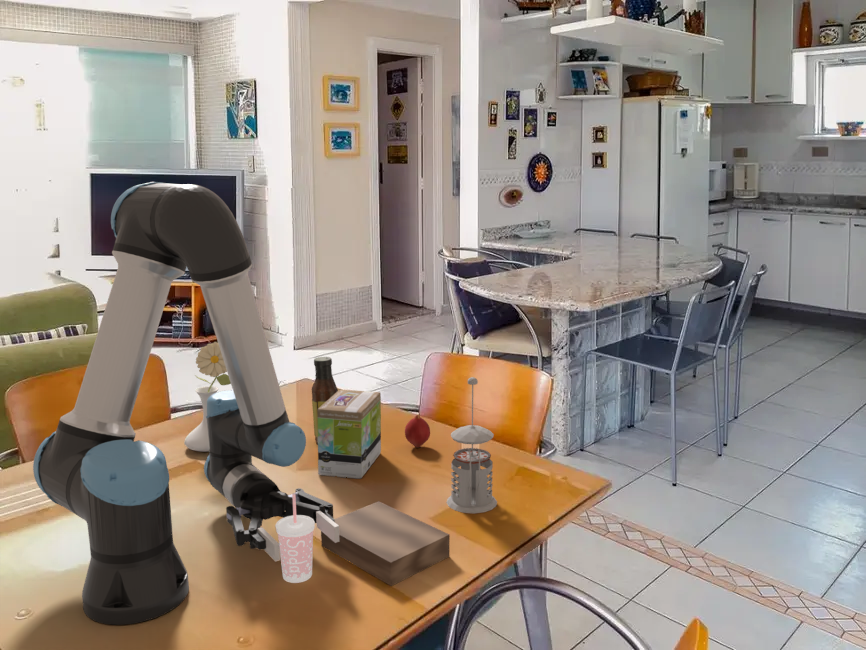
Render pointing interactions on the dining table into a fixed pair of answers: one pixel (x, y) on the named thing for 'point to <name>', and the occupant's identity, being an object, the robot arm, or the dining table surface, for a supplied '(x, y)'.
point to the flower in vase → (207, 392)
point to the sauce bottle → (322, 387)
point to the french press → (471, 470)
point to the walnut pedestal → (387, 542)
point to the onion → (417, 431)
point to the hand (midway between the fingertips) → (307, 543)
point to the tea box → (349, 433)
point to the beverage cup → (296, 545)
